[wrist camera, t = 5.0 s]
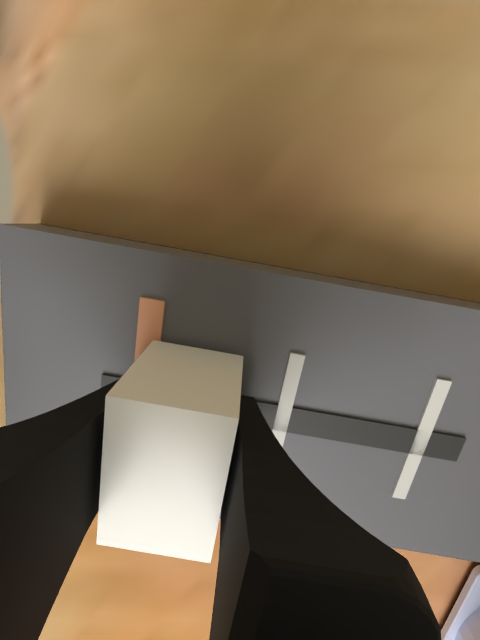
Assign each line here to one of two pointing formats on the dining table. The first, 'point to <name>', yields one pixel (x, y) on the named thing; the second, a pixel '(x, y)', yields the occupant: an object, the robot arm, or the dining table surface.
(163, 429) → the slider knob
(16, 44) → the dining table surface
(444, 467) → the slider panel
